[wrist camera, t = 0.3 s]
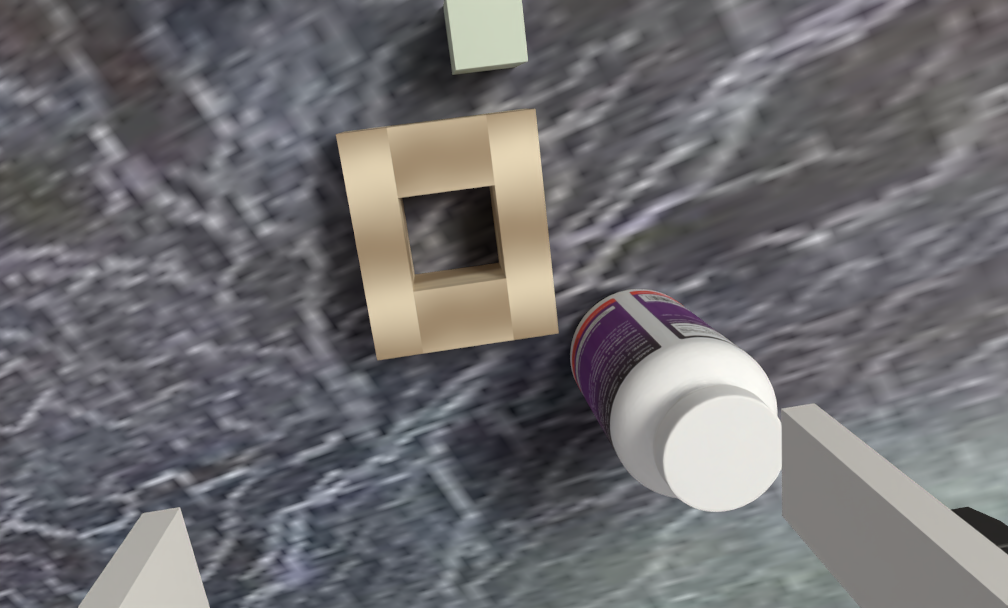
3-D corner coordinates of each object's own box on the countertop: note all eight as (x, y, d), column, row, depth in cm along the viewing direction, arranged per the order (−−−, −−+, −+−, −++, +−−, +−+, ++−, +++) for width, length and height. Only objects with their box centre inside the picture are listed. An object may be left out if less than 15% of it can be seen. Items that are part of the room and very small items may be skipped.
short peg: (443, 6, 37) (445, -9, 33) (508, -2, 38) (519, -18, 33) (452, 75, 38) (456, 70, 34) (515, 67, 39) (528, 61, 34)
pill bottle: (588, 424, 45) (660, 564, 31) (549, 311, 43) (608, 409, 29) (707, 380, 45) (831, 501, 31) (675, 265, 43) (793, 341, 29)
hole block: (345, 131, 38) (335, 134, 35) (524, 108, 39) (535, 108, 35) (381, 337, 42) (377, 360, 38) (546, 312, 42) (558, 333, 39)
